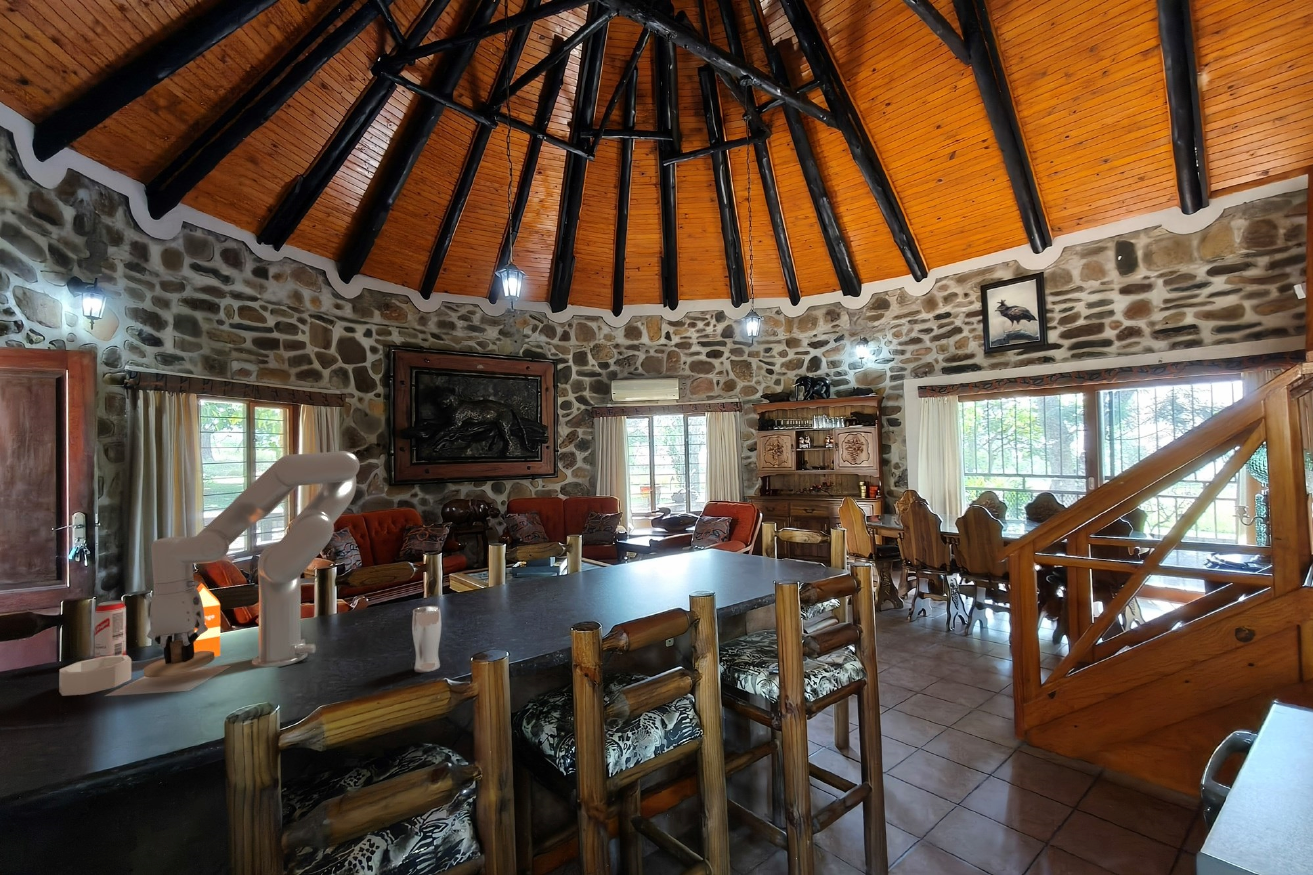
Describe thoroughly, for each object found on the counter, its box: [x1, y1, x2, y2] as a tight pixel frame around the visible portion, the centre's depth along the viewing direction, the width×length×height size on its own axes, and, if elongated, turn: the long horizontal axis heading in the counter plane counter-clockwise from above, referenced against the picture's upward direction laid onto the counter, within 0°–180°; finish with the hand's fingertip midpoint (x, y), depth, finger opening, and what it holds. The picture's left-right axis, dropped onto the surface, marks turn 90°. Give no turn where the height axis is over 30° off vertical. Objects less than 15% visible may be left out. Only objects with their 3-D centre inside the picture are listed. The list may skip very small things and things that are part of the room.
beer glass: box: [411, 605, 442, 673], centre depth 148 cm, size 7×7×15 cm
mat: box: [104, 665, 232, 697], centre depth 142 cm, size 18×16×1 cm
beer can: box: [94, 599, 127, 659], centre depth 159 cm, size 6×6×16 cm
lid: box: [142, 638, 216, 677], centre depth 143 cm, size 14×14×6 cm
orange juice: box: [194, 582, 221, 658], centre depth 161 cm, size 8×9×20 cm
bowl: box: [58, 654, 132, 697], centre depth 140 cm, size 12×12×6 cm
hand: (179, 660), depth 143 cm, fingers closed on lid, 3 cm apart
